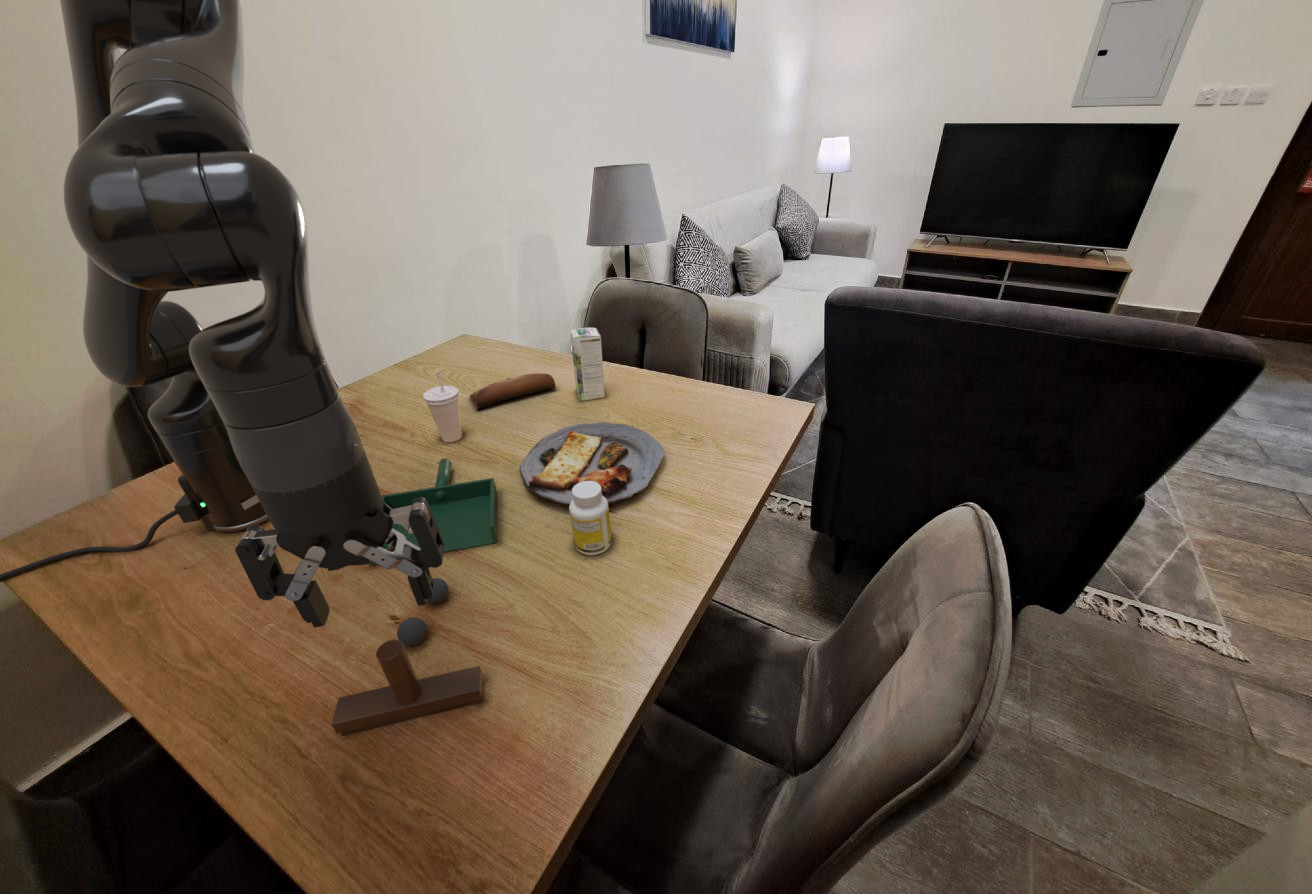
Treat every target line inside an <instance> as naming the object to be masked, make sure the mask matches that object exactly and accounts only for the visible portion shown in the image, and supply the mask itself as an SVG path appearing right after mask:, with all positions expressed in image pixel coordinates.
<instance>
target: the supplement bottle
mask: <svg viewBox="0 0 1312 894" xmlns="http://www.w3.org/2000/svg"><path fill="white" fill-rule="evenodd" d="M572 497H573V500H572V501H571V503H570V506H568V507H569V508H568V509H569V510H568V511H569V517H570V523H571V531H572V537H573V542H574V547H575V549H576V550H577V551H578V552H579V553H581V554H582V555H587V556H596V555H600V554H602V553H604V552H606V551H607V550H608V549H609V548H610V547H611V545H612V542H613V541H612V540H613V539H612V538H613V537H612V528H611V518H610V507H609V504H608V502H607V500H606V498H605V497H604V496H602V490H601V486H600V485H599V484H598V483H597V482H594V481H583V482H580V483H578V484H576V485H575V486H574V487H573V489H572Z"/></svg>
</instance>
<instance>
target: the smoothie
mask: <svg viewBox="0 0 1312 894" xmlns="http://www.w3.org/2000/svg"><path fill="white" fill-rule="evenodd" d="M436 376H437V380H438V384H439V386H436V387H432V388H429V389H428V390H426V391H425V392H424V393H423V395H422V398H423V402H424V403H425V404H426V405H427V407H428V409H429V412H430V414H431V416H432V419H433V421H434V424H435V426H436V428H437V430H438V432H439V435H440V437H441V440H442V441H443V442H445V443H453V442H457V441H459V440H460V439H462V438H463V431H462V430H463V429H462V421H461V411H460V400H459V397H460V396H461V395H460V394H461V393H460V391H459V388H457V387H456V386H452V385H444V383H443V380H442V376H441V372H440V370H436Z"/></svg>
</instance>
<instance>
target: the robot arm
mask: <svg viewBox="0 0 1312 894" xmlns="http://www.w3.org/2000/svg"><path fill="white" fill-rule="evenodd" d="M59 2H60V3H59V4H60V8H61V15H62V20H63V26H64V33H65V39H66V46H67V53H68V58H69V64H70V69H71V77H72V83H73V90H74V97H75V107H76V108H75V109H76V122H77V123H76V124H77V149H76V151H75V152H74V154H73V155H72V157H71V159H70V161H69V162H68V166H67V169H66V172H65V177H64V182H63V204H64V211H65V215H66V218H67V221H68V225H69V227H70V229H71V232H72V234H73V236H74V238H75V239H76V242H77V243H78V244H79V246H80V247H81V250H83V251H84V253H85V254H86V268H87V269H86V271H87V274H86V275H87V276H86V277H87V280H86V290H85V301H84V311H83V321H82V331H83V340H84V344H85V348H86V351H87V353H88V356H89V358H90V360H91V362H92V363H93V365H94V366H95V368H96V369H97V370H98V371H99V372H100V374H101V375H102V376H104V377H105V378H106V379H107V380H109V381H110V382H112V383H114V384H115V385H118V386H121V387H126V388H141V387H143V388H144V387H146V386H152V385H155V384H158V383H161V382H164V381H166V380H169V379H171V378H172V379H171V381H170V384H169V386H168V387H167V389H166V390H165V391H164V393H163V394H162V395H161V396H160V397H159V398H158V399H157V400H155V401H154V403H153V404H152V405H150V407H149V408H148V411H147V419H148V420H149V422H150V424H151V426H152V427H153V429H154V431H155V432H156V434H157V436H158V437H159V438H160V440H161V442H162V443H163V445H164V447H165V448H166V451H167V452H168V453H169V455H170V457H171V459H172V460H173V461H174V463H175V465H176V467H177V468H178V470H179V472H180V473H181V475H180V476H179V477H178V478H177V483H178V485H179V486H180V488H181V490H182V491H183V493H184V494H183V495H182V496H181V498H180V499H179V500H178V501H177V503H175V504H174V506H173V508H174V510H171V511H170V512H169V513H167V514H165V515H164V516H162V517H161V518H159V519H157V520H156V521H155V522H154V523H153V525H152V526H150V528H149V530H148V531H147V534H146V537H145V538H144V539H143V540H142V541H141V542H139V543H137V544H135V545H130V546H125V547H124V546H123V547H118V546H117V547H115V546H87V547H81V548H78V549H72V550H69V551H65V552H62V553H61V552H60V553H58V554H55V555H52V556H49V557H45V558H43V559H39V560H37V561H33V562H31V563H28V564H26V565H23V566H20V567H17V568H15V569H14V568H13V569H12V570H9V571H6V572H3V573H0V581H1V580H5V579H7V578H10V577H13V576H16V575H18V574H21V573H24V572H27V571H30V570H32V569H35V568H39V567H41V566H43V565H46V564H49V563H52V562H55V561H58V560H62V559H65V558H68V557H69V558H70V557H72V556H76V555H80V554H86V553H96V552H101V553H128V552H133V551H138V550H141V549H142V548H144V547H145V546H147V545H149V544H150V543H151V542H152V541H153V538H154V536H155V534H156V532H157V530H158V529H159V527H161V526H162V525H163V524H164V523H165V522H168V520H170V519H171V518H173V517H175V516H177V515H178V517H179V518H180V520H181V521H182V523H183V524H188V523H193V522H199V521H201V522H202V524H203V525H204V527H205V530H206V531H216V532H220V533H238V532H243V531H245V532H244V533H243V535H242V536H241V538H240V539H239V542H238V543H237V545H236V547H235V550H234V551H235V554H236V555H237V558H238V560H239V562H240V564H241V566H242V568H243V570H244V572H245V574H246V576H247V578H248V580H249V582H250V584H251V586H252V588H253V590H254V592H255V594H256V596H257V597H258V599H260V600H262V601H271V600H273V599H275V597H285V599H287V600H288V601H291V602H293V604H294V606H295V608H296V609H297V611H298V613H299V615H300V617H301V619H302V620H303V621H304V622H305V623H307V624H311V625H312V626H313V628H321V627H325V626H326V624H327V622H328V618H329V615H330V611H331V609H330V606H329V604H328V602H327V599H326V598H325V596H324V593H323V592H322V590H321V588H320V585H319V584H318V582H317V580H316V579H314V580H313V578H314V576H315V574H316V572H317V571H318V568H321V569H327V570H328V572H332V571H338V570H341V569H344V568H346V567H349V566H350V567H351V566H364V565H370V563H371V561H373V562H375V563H377V564H378V565H377V566H381V567H383V568H384V569H387V570H392V569H394V570H397V571H399V572H401V573H403V574H405V575H407V581H408V584H409V587H410V590H411V592H412V594H413V597H414V599H415V603H416V604H417V607H422V606H426V605H428V598H431V597H432V592H433V585H434V582H433V579H432V578H433V576H432V572H431V570H430V568H433V569H436V568H439V567H441V566H442V565H443V562H444V561H443V560H444V553H445V552H444V541H443V539H442V536H441V534H440V531H439V529H438V526H437V524H436V521H435V519H434V516H433V514H432V512H431V509H430V507H429V504H428V502H427V500H426V499H425V498H422V497H417V498H415V499H414V500H413V501H412V505H410V506H406V507H401V508H396V509H391V508H390V507H389V506H388V505H387V504H385V502H384V501H383V500H382V497H381V496H382V493H381V491H380V488H379V485H378V483H377V480H376V477H375V474H374V472H373V469H372V467H371V464H370V461H369V459H368V456H367V454H366V450H365V448H364V445H363V443H362V440H361V437H360V434H359V432H358V429H357V427H356V424H355V421H354V419H353V417H352V415H351V413H350V412H349V409H348V407H347V406H346V405H345V402H344V401H343V398H342V397H341V394H340V392H339V390H338V388H337V384H336V382H335V380H334V377H333V374H332V372H331V369H330V366H329V364H328V361H327V358H326V356H325V353H324V350H323V346H322V344H321V340H320V337H319V334H318V330H317V325H316V322H315V316H314V312H313V306H312V297H311V287H310V261H309V235H308V223H307V218H306V213H305V208H304V205H303V202H302V200H301V198H300V195H299V193H298V191H297V190H296V187H294V185H293V183H292V182H291V181H290V179H289V178H288V177H287V176H286V175H285V174H284V172H283V171H281V169H280V168H278V167H277V166H276V165H275V164H273V162H271V161H270V160H269V159H267V158H265V157H263V156H261V155H260V154H257V153H255V148H254V146H253V145H254V143H253V142H252V137H251V133H250V129H249V125H248V121H247V119H246V114H245V109H244V89H245V42H244V41H245V39H244V38H245V37H244V20H243V12H242V6H241V0H59ZM120 50H124V52H123V53H122V54H121V51H120ZM251 281H254V282H255V281H257V282H258V281H259V282H261V283H262V285H263V290H264V295H263V298H262V300H261V301H260V302H259V303H258V304H257V305H256V306H254V307H253V308H251V309H249V310H248V311H245V312H243V313H241V314H238V315H236V316H233V317H230V318H228V319H224V320H222V321H219V322H215V323H214V324H212V325H209V326H207V327H205V328H203V326H202V324H201V323H200V322H199V320H198V319H197V318H196V317H195V316H194V315H193V313H191V311H189V310H188V309H186V307H184V306H183V305H181V304H180V303H177V302H174V301H170V300H163V299H164V298H165V296H167V294H168V293H169V292H178V291H186V290H191V289H192V290H194V289H201V288H210V287H215V286H216V287H217V286H224V285H225V286H226V285H231V284H232V285H233V284H238V283H247V282H251ZM268 521H269V522H270V524H271V526H272V527H273V528H272V529H265V528H264V527H263V526H261V524H264V523H265V522H268ZM394 524H398V525H401V526H403V527H404V528H405V530H407V532H408V533H409V534H412V533H414V535H415V537H416V539H417V541H418V544H419V546H420V548H419V547H417V546H416V545H414V544H412V543H410V542H409V541H407V540H406V537H405V536H404V535H403V534H402V533H400V532H398V531H396V530H395V529H393V525H394ZM385 542H386V543H387V545H388V550H385V549H383V548H382V547H383V545H384V543H385ZM278 547H280V548H281V549H282V550H283V551H286V552H287V553H290V554H292V555H293V556H296V557H298V558H299V559H301V560H300V561H299V564H298V566H297V567H296V568H295V569H296V570H295V571H294V573H287V572H286V573H285V572H284V569H283V567H282V565H281V563H280V560H279V559H278V558H279V557H278V556H277V554H276V549H277V548H278ZM443 552H444V553H443ZM370 560H371V561H370Z"/></svg>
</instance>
